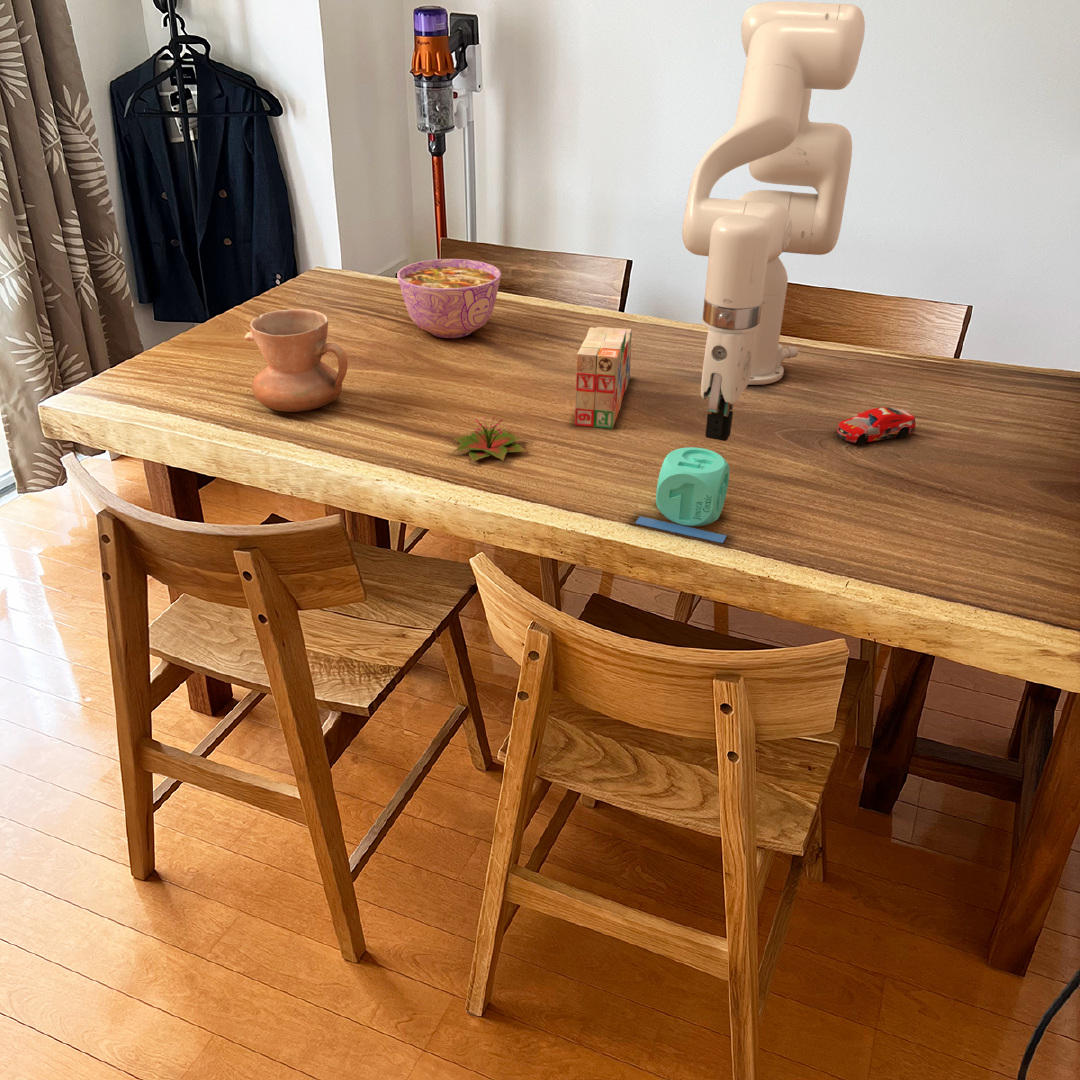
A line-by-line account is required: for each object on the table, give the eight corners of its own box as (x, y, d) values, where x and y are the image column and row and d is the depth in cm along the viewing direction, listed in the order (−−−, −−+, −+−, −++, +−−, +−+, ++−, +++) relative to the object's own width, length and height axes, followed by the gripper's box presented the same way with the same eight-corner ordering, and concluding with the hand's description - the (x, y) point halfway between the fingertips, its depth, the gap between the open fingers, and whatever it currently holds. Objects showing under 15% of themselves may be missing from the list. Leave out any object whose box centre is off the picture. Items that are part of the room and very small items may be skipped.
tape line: (635, 523, 131) (635, 523, 131) (639, 516, 133) (639, 516, 133) (722, 543, 127) (722, 542, 127) (726, 536, 129) (726, 535, 128)
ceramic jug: (230, 411, 160) (216, 327, 153) (280, 380, 172) (269, 300, 164) (327, 428, 155) (317, 343, 148) (371, 395, 167) (364, 313, 159)
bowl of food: (499, 350, 186) (498, 289, 180) (393, 348, 186) (389, 288, 180) (504, 315, 203) (503, 259, 197) (407, 313, 203) (404, 257, 197)
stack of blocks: (595, 376, 175) (598, 308, 169) (630, 379, 174) (634, 311, 168) (574, 425, 157) (576, 352, 151) (613, 429, 156) (617, 356, 150)
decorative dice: (653, 519, 132) (657, 467, 128) (670, 493, 138) (674, 442, 134) (711, 532, 129) (718, 478, 125) (725, 504, 136) (732, 453, 131)
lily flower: (465, 472, 143) (464, 444, 141) (439, 439, 152) (437, 412, 150) (540, 458, 147) (541, 430, 145) (510, 426, 156) (510, 400, 154)
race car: (848, 448, 151) (852, 425, 149) (828, 434, 156) (832, 411, 154) (919, 436, 155) (924, 413, 153) (898, 422, 159) (902, 400, 157)
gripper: (746, 336, 123) (730, 465, 133) (772, 299, 134) (755, 420, 144) (688, 327, 125) (676, 454, 135) (718, 292, 137) (706, 411, 147)
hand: (717, 436), depth 140 cm, fingers closed
